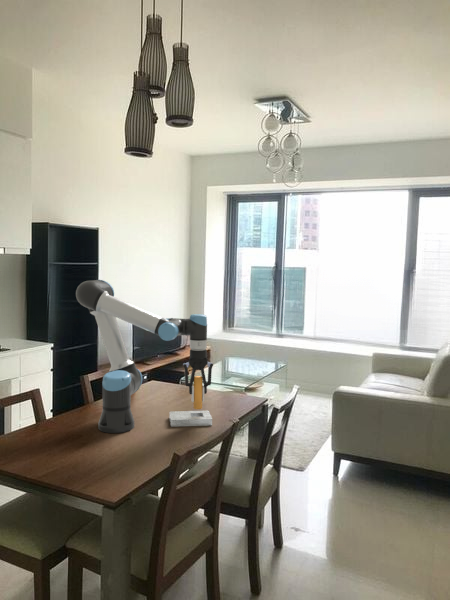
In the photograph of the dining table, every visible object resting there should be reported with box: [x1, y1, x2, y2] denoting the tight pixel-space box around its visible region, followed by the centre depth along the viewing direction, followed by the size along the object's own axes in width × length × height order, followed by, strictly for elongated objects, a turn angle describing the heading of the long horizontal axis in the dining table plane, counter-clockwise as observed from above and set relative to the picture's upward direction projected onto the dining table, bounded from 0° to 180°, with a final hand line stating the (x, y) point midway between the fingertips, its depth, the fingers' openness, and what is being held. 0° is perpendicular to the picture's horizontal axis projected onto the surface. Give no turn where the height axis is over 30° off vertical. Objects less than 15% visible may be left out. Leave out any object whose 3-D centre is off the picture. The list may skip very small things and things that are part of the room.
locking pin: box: [192, 375, 204, 410], centre depth 213 cm, size 4×4×14 cm
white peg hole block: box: [168, 409, 213, 428], centre depth 213 cm, size 18×12×3 cm, turn 99°
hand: (197, 400), depth 213 cm, fingers closed on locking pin, 4 cm apart
